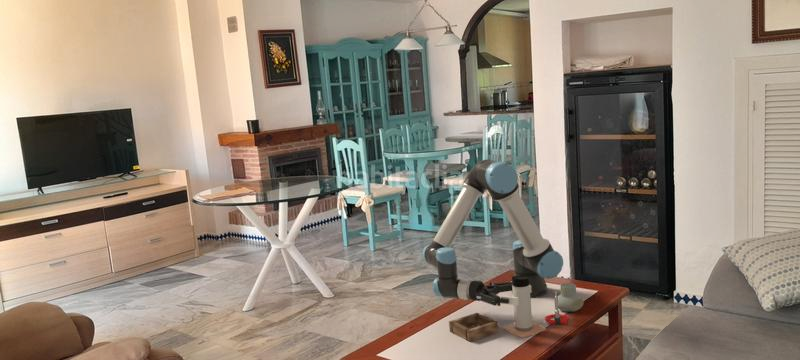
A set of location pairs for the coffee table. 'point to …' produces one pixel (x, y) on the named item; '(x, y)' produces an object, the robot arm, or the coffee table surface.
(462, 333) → the wooden tray
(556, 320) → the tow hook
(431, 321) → the coffee table surface
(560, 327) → the coffee table surface
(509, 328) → the terracotta tile
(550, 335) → the coffee table surface
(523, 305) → the travel mug
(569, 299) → the air freshener
